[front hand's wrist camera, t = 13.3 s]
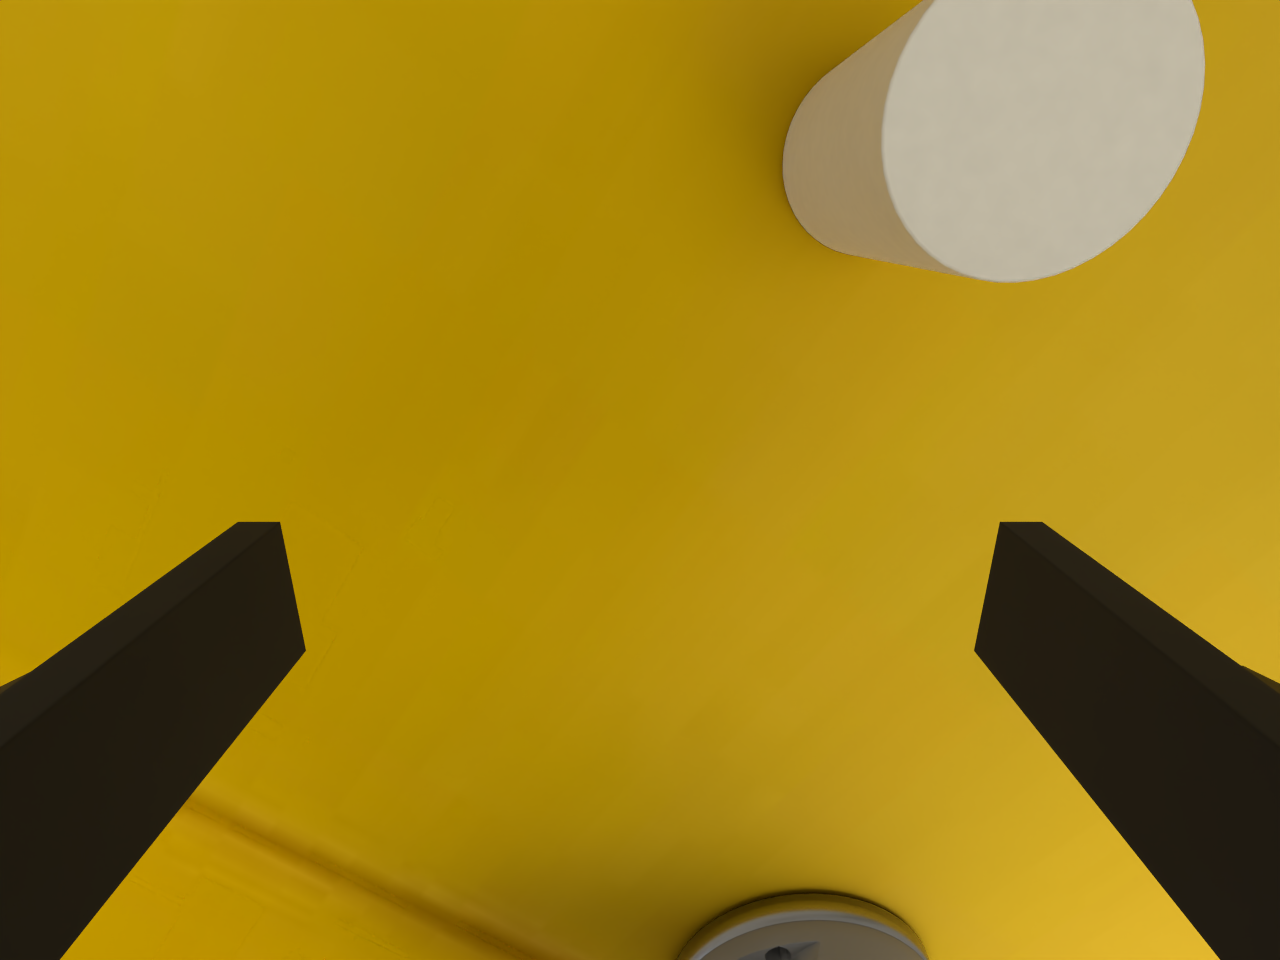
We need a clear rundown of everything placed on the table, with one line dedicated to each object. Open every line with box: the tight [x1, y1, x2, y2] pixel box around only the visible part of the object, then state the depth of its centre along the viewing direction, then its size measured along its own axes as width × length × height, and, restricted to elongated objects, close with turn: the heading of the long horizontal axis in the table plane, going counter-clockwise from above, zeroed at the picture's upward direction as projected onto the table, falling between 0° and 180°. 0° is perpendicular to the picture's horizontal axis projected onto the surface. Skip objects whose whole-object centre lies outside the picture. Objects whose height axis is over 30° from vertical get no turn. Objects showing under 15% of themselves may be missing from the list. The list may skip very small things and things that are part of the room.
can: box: [783, 0, 1205, 283], centre depth 19 cm, size 7×7×11 cm
